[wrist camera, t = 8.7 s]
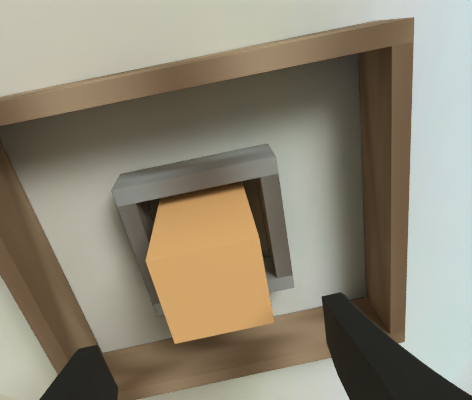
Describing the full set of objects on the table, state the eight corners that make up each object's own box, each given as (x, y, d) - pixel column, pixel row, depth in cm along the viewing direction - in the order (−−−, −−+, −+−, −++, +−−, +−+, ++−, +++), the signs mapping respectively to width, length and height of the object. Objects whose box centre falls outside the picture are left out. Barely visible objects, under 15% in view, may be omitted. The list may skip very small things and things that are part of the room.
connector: (181, 258, 19) (174, 344, 14) (161, 192, 18) (145, 260, 12) (253, 243, 20) (274, 322, 14) (240, 175, 18) (259, 237, 12)
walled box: (93, 365, 22) (79, 411, 19) (-38, 105, 15) (-89, 119, 12) (379, 304, 22) (404, 341, 19) (375, 20, 15) (414, 17, 13)
